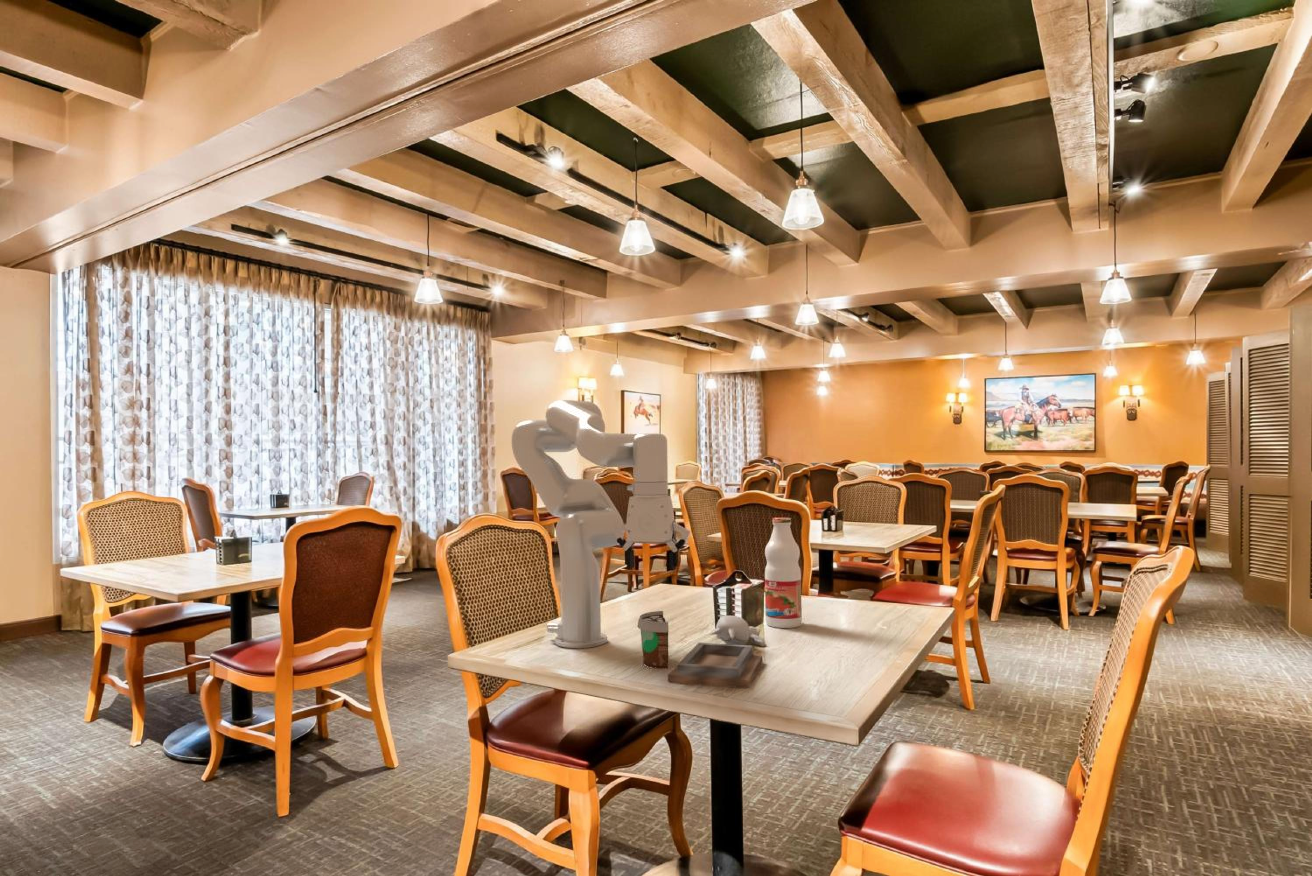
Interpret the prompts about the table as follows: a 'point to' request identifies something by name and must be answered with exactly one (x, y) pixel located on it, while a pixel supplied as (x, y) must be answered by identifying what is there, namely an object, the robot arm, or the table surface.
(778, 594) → the fruit juice
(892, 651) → the table surface
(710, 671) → the square wooden tray
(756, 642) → the toy creature
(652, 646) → the food container
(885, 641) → the table surface
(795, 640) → the table surface
